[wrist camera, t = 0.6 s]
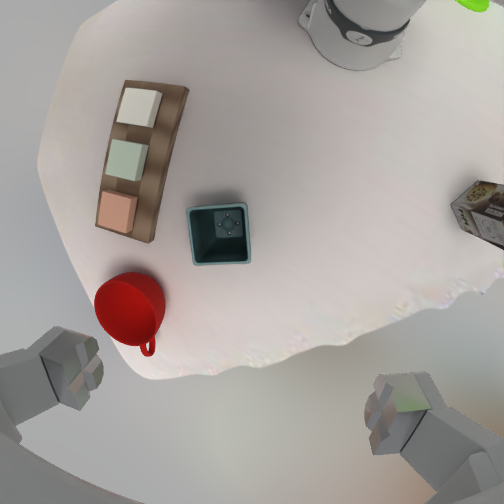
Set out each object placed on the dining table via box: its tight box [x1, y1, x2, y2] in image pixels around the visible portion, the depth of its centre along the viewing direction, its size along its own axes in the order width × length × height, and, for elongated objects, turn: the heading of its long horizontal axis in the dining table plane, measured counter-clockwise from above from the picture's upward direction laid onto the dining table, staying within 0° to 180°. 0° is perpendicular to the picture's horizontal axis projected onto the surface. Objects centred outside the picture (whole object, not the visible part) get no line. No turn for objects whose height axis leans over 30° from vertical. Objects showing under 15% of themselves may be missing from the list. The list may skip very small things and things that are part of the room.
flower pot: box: [187, 203, 251, 266], centre depth 47 cm, size 9×9×9 cm
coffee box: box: [451, 180, 504, 250], centre depth 37 cm, size 9×6×16 cm
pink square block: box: [98, 190, 138, 233], centre depth 48 cm, size 6×6×5 cm
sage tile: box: [105, 139, 149, 181], centre depth 46 cm, size 6×6×5 cm
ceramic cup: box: [94, 272, 165, 357], centre depth 53 cm, size 13×17×10 cm
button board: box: [95, 80, 189, 243], centre depth 48 cm, size 28×12×2 cm, turn 164°
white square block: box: [116, 88, 162, 128], centre depth 43 cm, size 6×6×5 cm
